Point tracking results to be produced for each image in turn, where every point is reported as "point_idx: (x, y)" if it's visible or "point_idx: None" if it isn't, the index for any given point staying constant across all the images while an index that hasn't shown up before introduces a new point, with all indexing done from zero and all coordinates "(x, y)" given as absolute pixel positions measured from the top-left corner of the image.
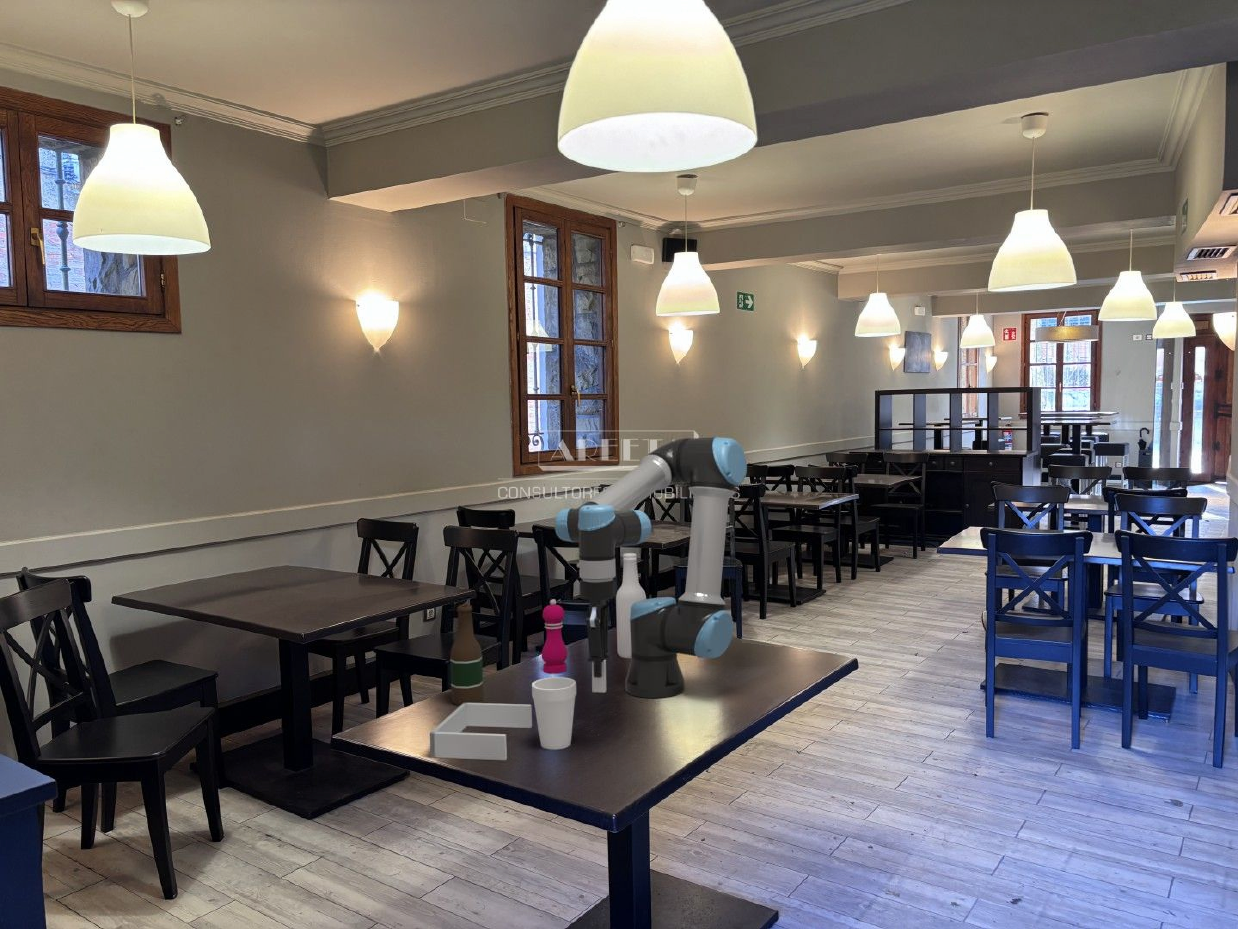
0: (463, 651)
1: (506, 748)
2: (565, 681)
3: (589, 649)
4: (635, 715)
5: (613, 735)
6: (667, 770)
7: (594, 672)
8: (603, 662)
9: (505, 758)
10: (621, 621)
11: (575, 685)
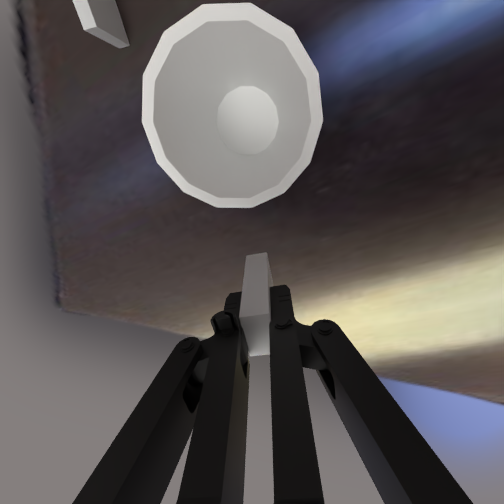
0: None
1: (117, 38)
2: (303, 138)
3: (148, 391)
4: (449, 222)
5: (323, 219)
6: (206, 330)
7: (225, 306)
8: (249, 350)
9: (118, 47)
10: None
11: (247, 206)
